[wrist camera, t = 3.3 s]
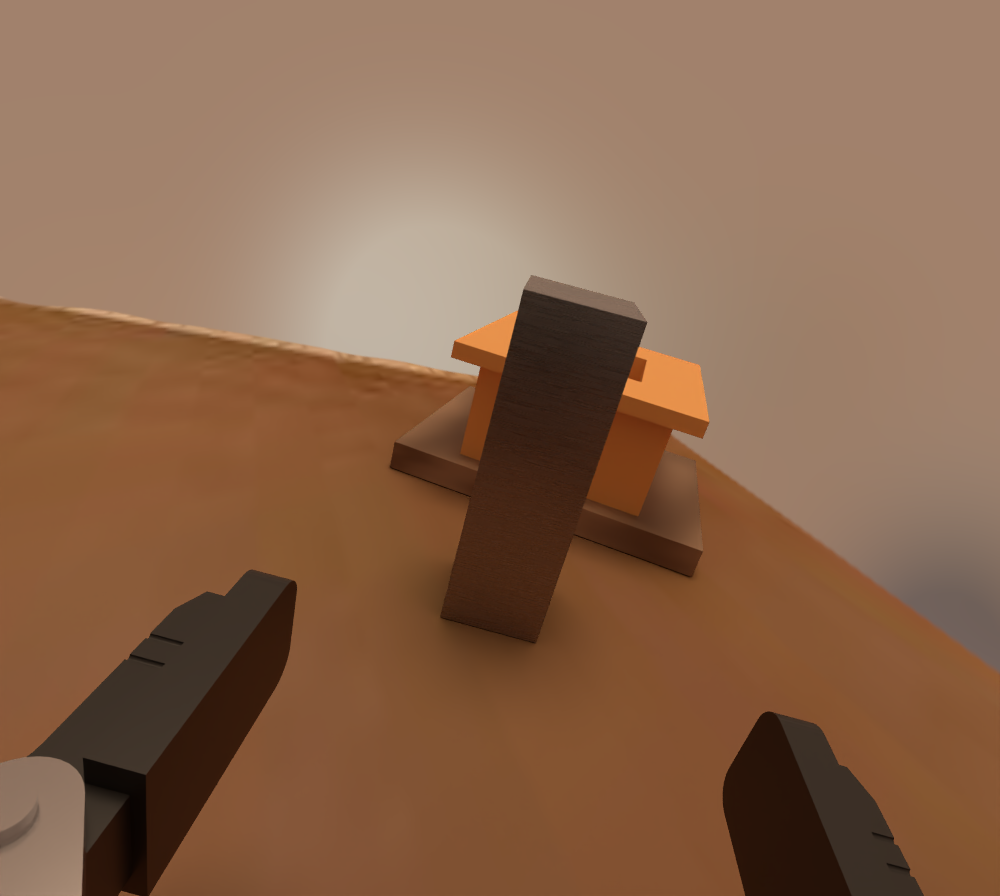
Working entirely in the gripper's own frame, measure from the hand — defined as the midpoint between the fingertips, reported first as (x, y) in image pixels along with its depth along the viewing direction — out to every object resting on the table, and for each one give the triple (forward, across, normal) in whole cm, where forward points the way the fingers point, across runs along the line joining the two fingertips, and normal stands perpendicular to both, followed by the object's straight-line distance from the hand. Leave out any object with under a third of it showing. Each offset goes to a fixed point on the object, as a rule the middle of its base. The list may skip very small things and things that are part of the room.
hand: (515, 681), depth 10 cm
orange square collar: (+24, -2, +5) cm, 25 cm away
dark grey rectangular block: (+11, 0, +7) cm, 13 cm away
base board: (+24, -2, +7) cm, 25 cm away
